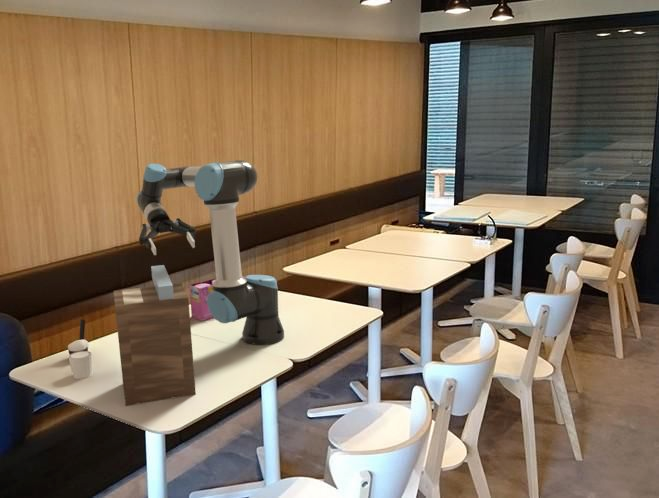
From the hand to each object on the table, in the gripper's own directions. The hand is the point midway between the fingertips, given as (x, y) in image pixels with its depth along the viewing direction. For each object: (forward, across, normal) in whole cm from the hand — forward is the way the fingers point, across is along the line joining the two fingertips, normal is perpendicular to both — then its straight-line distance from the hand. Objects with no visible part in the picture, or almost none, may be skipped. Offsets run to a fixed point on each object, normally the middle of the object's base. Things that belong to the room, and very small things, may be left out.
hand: (174, 248), depth 226 cm
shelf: (+43, +19, -19) cm, 51 cm away
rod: (+28, +12, +7) cm, 32 cm away
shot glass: (+22, +37, -27) cm, 51 cm away
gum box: (-11, -22, -44) cm, 50 cm away
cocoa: (+7, +36, -33) cm, 49 cm away
